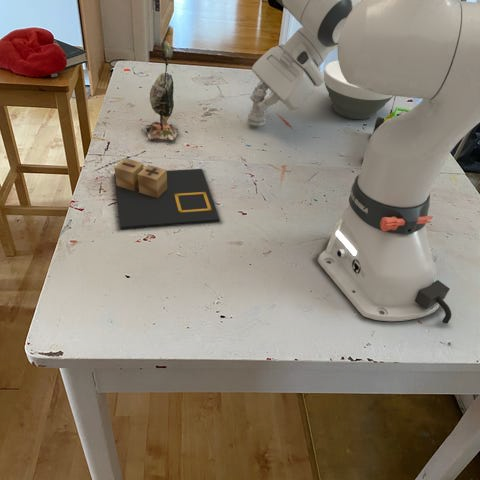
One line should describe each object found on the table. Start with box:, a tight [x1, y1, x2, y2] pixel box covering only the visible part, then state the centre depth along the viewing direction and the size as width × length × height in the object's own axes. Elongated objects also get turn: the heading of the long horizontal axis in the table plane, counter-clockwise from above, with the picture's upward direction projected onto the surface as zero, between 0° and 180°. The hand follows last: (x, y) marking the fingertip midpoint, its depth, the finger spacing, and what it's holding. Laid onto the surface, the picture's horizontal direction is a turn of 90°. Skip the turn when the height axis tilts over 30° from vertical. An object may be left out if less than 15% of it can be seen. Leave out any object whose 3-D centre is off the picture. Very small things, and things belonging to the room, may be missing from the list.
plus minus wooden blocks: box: [114, 157, 168, 198], centre depth 91 cm, size 4×9×4 cm, turn 68°
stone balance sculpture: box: [144, 40, 179, 142], centre depth 102 cm, size 8×11×20 cm
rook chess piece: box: [247, 86, 267, 127], centre depth 111 cm, size 4×4×8 cm
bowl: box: [323, 59, 394, 120], centre depth 123 cm, size 20×20×10 cm
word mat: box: [113, 168, 220, 230], centre depth 91 cm, size 18×18×1 cm
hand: (256, 104), depth 111 cm, fingers closed on rook chess piece, 3 cm apart
